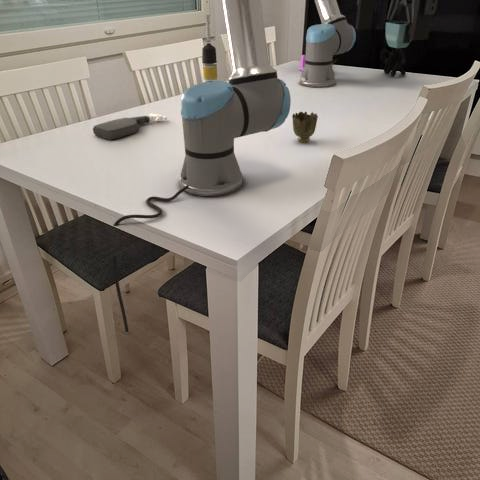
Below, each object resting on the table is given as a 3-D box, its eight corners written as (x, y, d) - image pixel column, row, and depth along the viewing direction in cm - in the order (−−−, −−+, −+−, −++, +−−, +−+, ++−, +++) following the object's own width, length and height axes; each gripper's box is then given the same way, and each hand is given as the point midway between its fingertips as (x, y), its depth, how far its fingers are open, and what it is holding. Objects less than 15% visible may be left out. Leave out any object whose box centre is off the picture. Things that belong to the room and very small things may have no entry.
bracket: (309, 71, 219) (310, 56, 215) (300, 70, 222) (300, 55, 218) (322, 66, 228) (323, 52, 224) (312, 65, 231) (313, 51, 227)
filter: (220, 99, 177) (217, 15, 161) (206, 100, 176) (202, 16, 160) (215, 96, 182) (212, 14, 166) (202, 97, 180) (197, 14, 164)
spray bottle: (91, 134, 143) (149, 117, 159) (112, 141, 137) (170, 123, 153) (89, 125, 142) (148, 109, 158) (110, 132, 136) (170, 114, 152)
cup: (287, 143, 133) (288, 116, 129) (296, 135, 139) (297, 110, 135) (310, 147, 130) (312, 119, 126) (319, 139, 136) (321, 113, 132)
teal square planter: (413, 48, 178) (418, 23, 174) (395, 49, 176) (399, 24, 171) (399, 45, 185) (403, 21, 181) (381, 46, 183) (385, 22, 178)
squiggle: (394, 87, 211) (371, 67, 214) (410, 72, 211) (386, 52, 214) (398, 76, 200) (374, 55, 203) (415, 59, 199) (390, 39, 202)
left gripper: (515, -158, 51) (468, 42, 62) (378, -123, 71) (361, 24, 82) (465, -162, 49) (425, 46, 60) (338, -125, 68) (326, 27, 80)
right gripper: (437, -24, 160) (424, 44, 172) (398, -25, 177) (389, 37, 189) (420, -23, 158) (409, 45, 170) (382, -24, 175) (374, 38, 187)
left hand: (388, 34), depth 71 cm, fingers open, 13 cm apart
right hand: (398, 41), depth 179 cm, fingers closed on teal square planter, 9 cm apart
